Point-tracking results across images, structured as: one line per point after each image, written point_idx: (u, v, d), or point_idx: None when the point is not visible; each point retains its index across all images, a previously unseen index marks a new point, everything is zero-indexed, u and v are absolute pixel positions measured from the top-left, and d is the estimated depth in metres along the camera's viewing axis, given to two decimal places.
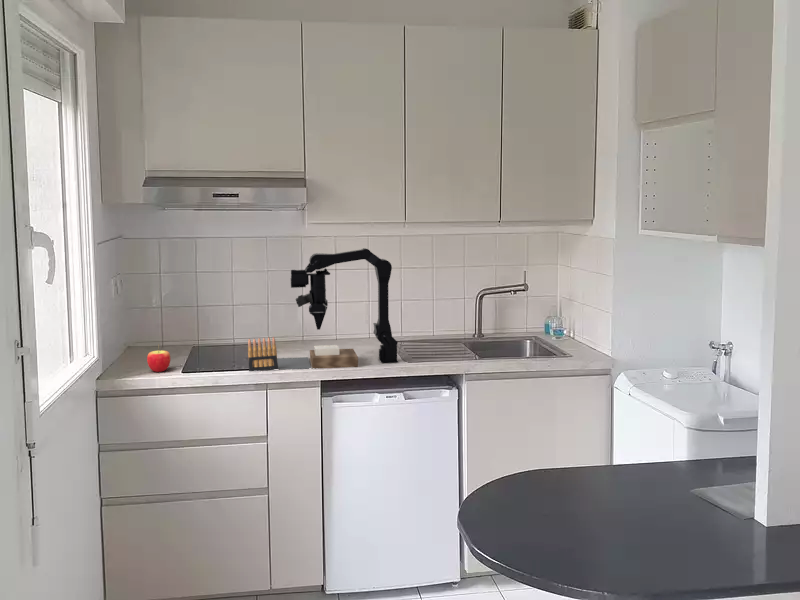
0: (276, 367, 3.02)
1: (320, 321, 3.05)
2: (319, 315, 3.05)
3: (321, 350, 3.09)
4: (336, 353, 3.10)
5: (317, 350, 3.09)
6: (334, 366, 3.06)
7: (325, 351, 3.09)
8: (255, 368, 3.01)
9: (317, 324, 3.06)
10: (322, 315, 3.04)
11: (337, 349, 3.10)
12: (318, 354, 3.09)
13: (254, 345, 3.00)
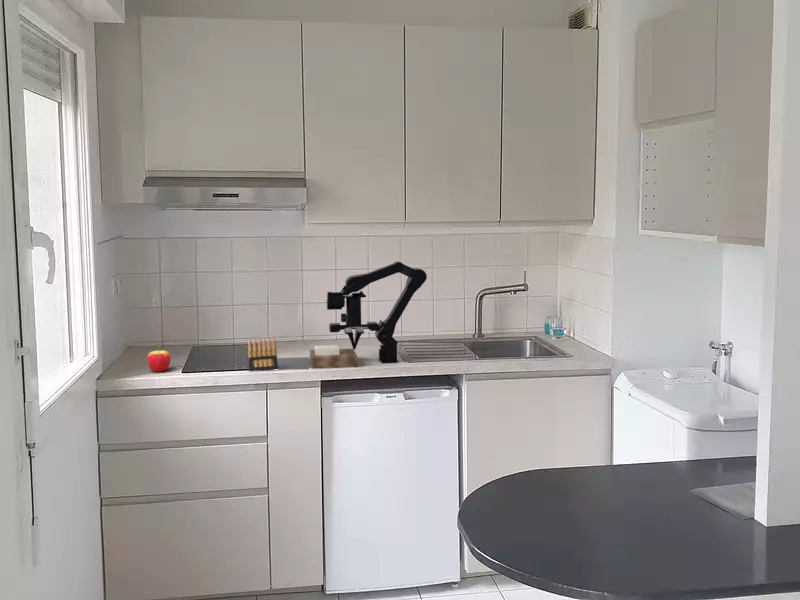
0: (276, 367, 3.02)
1: (351, 341, 3.13)
2: None
3: (321, 350, 3.09)
4: (336, 353, 3.10)
5: (317, 350, 3.09)
6: (334, 366, 3.06)
7: (325, 351, 3.09)
8: (255, 368, 3.01)
9: (352, 344, 3.15)
10: (349, 335, 3.12)
11: (337, 349, 3.10)
12: (318, 354, 3.09)
13: (254, 345, 3.01)
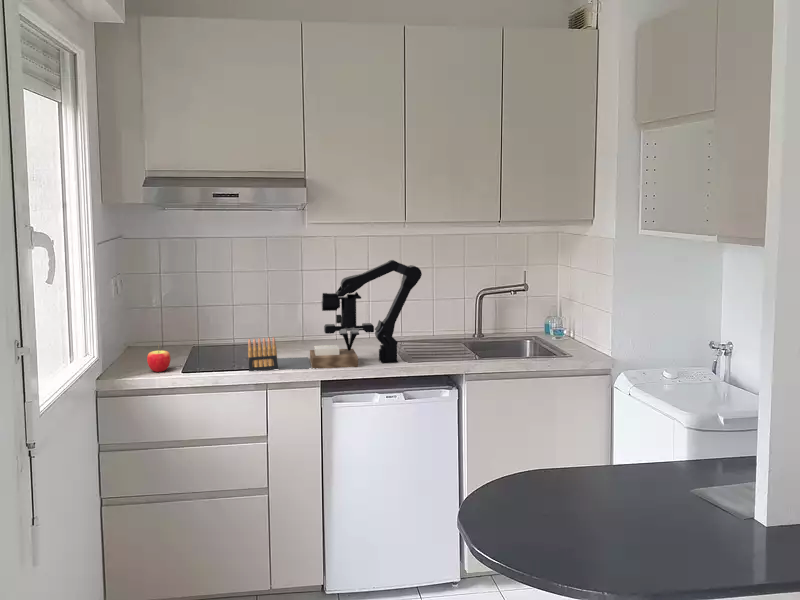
0: (276, 367, 3.02)
1: (346, 343, 3.13)
2: None
3: (321, 350, 3.09)
4: (336, 353, 3.10)
5: (317, 350, 3.09)
6: (334, 366, 3.06)
7: (325, 351, 3.09)
8: (255, 368, 3.01)
9: (347, 345, 3.14)
10: (344, 337, 3.12)
11: (337, 349, 3.10)
12: (318, 354, 3.09)
13: (254, 345, 3.01)
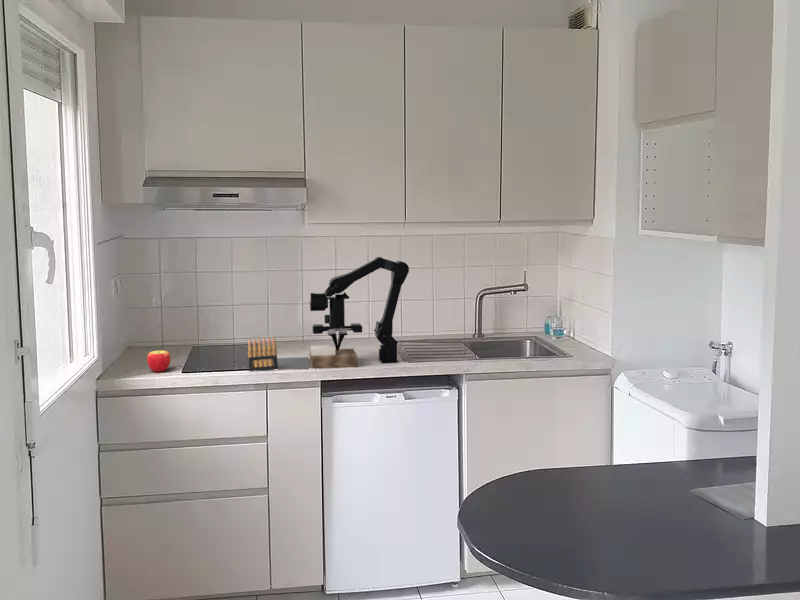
0: (276, 367, 3.02)
1: None
2: None
3: (317, 350, 3.09)
4: (332, 353, 3.10)
5: (313, 350, 3.09)
6: (334, 366, 3.06)
7: (321, 351, 3.09)
8: (255, 368, 3.01)
9: (335, 345, 3.14)
10: None
11: (333, 349, 3.10)
12: (314, 354, 3.09)
13: (254, 345, 3.01)
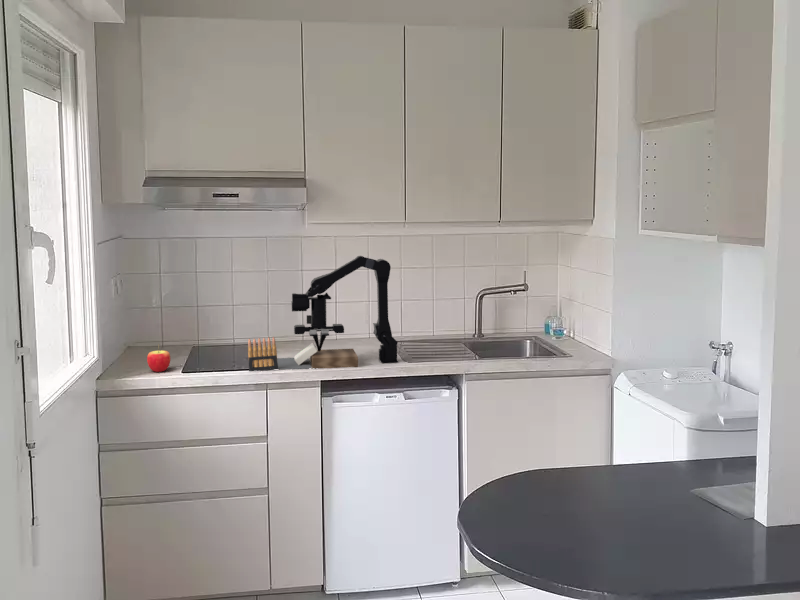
0: (276, 367, 3.02)
1: (316, 343, 3.11)
2: None
3: (300, 357, 3.09)
4: (314, 351, 3.09)
5: (296, 360, 3.08)
6: (334, 366, 3.06)
7: (304, 356, 3.09)
8: (255, 368, 3.01)
9: (317, 346, 3.12)
10: (314, 337, 3.10)
11: (312, 347, 3.09)
12: (300, 362, 3.09)
13: (254, 345, 3.01)
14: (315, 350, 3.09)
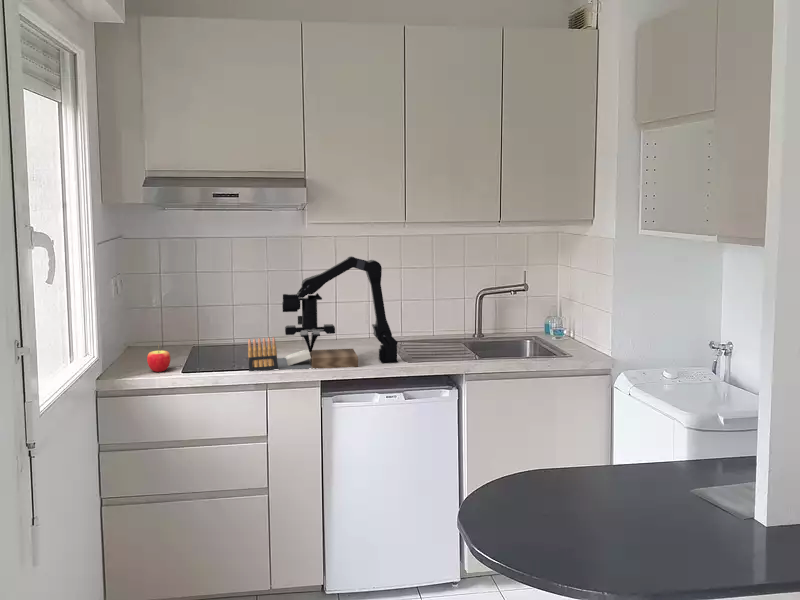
0: (276, 367, 3.02)
1: (307, 344, 3.10)
2: None
3: (292, 359, 3.08)
4: (307, 357, 3.09)
5: (288, 360, 3.08)
6: (334, 366, 3.06)
7: (296, 359, 3.08)
8: (255, 368, 3.01)
9: (308, 346, 3.12)
10: None
11: (307, 353, 3.09)
12: (290, 363, 3.08)
13: (254, 345, 3.01)
14: (309, 357, 3.09)
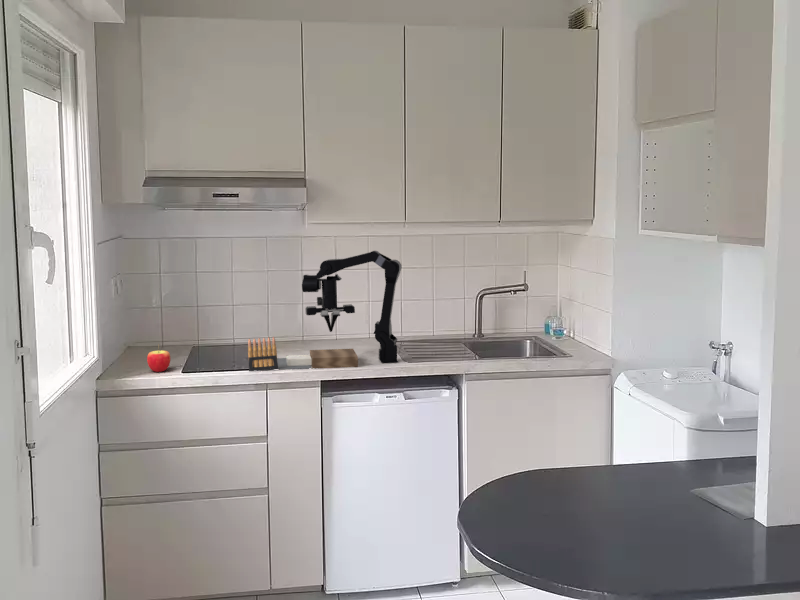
0: (276, 367, 3.02)
1: (327, 324, 3.17)
2: None
3: (293, 360, 3.08)
4: (308, 363, 3.09)
5: (289, 360, 3.08)
6: (334, 366, 3.06)
7: (297, 361, 3.08)
8: (255, 368, 3.01)
9: None
10: None
11: (309, 359, 3.09)
12: (290, 364, 3.08)
13: (254, 345, 3.01)
14: (310, 363, 3.10)
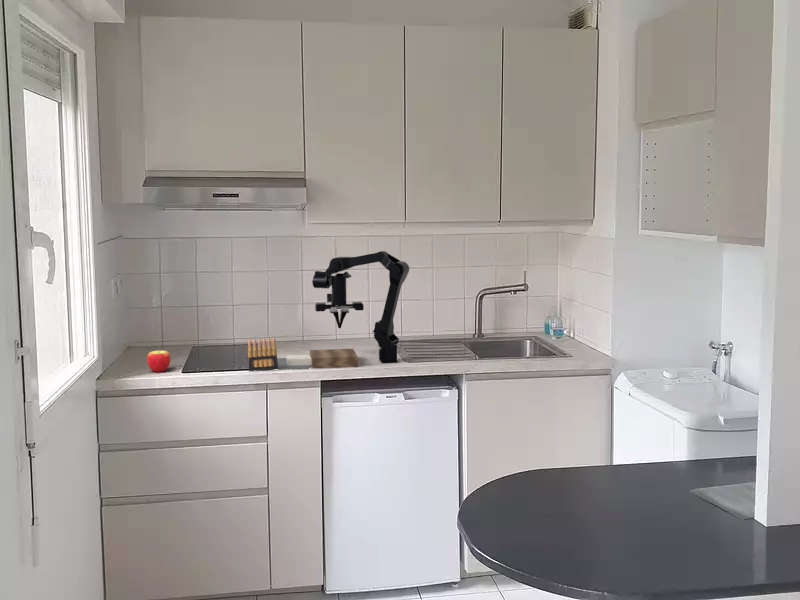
0: (276, 367, 3.02)
1: (336, 320, 3.21)
2: None
3: (293, 360, 3.08)
4: (308, 363, 3.09)
5: (289, 360, 3.08)
6: (334, 366, 3.06)
7: (297, 361, 3.08)
8: (255, 368, 3.01)
9: None
10: None
11: (309, 359, 3.09)
12: (290, 364, 3.08)
13: (254, 345, 3.01)
14: (310, 363, 3.10)
